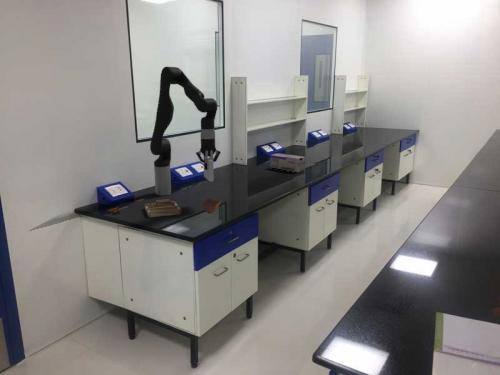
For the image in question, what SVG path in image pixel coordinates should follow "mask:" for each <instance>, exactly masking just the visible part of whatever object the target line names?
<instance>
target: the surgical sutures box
mask: <svg viewBox="0 0 500 375" xmlns="http://www.w3.org/2000/svg"><path fill="white" fill-rule="evenodd" d="M269 158H270V159H269V164H270V165H269V168H270V167H273V168H278V169H283V170H287V171H286V172H289V171H292V172H291V173H294V172H298V173H301V172H300V171H302V172H304V171H303V170H306V156H300V155H296V154H295V155H294V154H287V153H280V152H278V153H273V154H270V156H269ZM283 170H282V171H283Z"/></svg>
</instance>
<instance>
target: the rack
mask: <svg viewBox="0 0 500 375" xmlns="http://www.w3.org/2000/svg"><path fill="white" fill-rule="evenodd" d="M155 204H156V202H154V203H153V202H152V203H145V204H144V210H145V211H146V215H147V216H148V218H156V217H167V216H175V215H182V208H180V206H179V205H178V204H177V202H176V201H175V200H174V201H173V200H172V201H171V205H172V206H166V207H156V208H151V205H155Z"/></svg>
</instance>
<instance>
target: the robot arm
mask: <svg viewBox="0 0 500 375" xmlns="http://www.w3.org/2000/svg"><path fill="white" fill-rule="evenodd" d="M159 79H160V81H159V96H158V102H157V103H158V104H157V107H156V115H155V121H154V128H153V133H152V135H151V140H150V144H149V145H150V146H149V147H150V148H149V149H150V150H149V151H150V153H151V154H152V155H153V156H158V157H157V159H155V160H154V161H153V166H154V168H153V169H154V188H155V195H157V196H168V195H171V194H172V183H171V182H172V180H171V160H172V144H171V141H170V140H169V138H165V137H164V135H165V132H166V130H167V129H168V127H169V126H170V125H171V122H172V121H173V116H174V111H175V107H174V103H173V101H172V98H171V94H170V89H171V85H177V86H180V87H181V88H183V91H184V94H185V96H186V98H188V99H189V100H190V101H192V103H193V104H194V106H195V108H196V109H197V111H199V112H200V113H206V114H205V115H204V116H203V117H201V119H200V149H199V151H196V152H195V155H196V156H197V157H198V160H199V161H200V162H201V163H203V170H204V169H205V170H207V158H210V159H211V160H213V163H215V162H217V160H218V159H219V156H220V154H221V151H220V150H218V149H217V147H216V129H215V120H216V115H217V111H218V104H217V101H216V100H215V99H214V98H212V97H210V98H209V97H208V98H205V94H204V93H203V91H201V90H200V89H199V88H198V87H197V86H195V85H194V84H193V83H192V82H191V80H190V79H189V77H188V76H187V75H186V74H185V72H184V71H183V70H182V69H181V68H179V67H176V66H164V67H163V68H162V70H161V72H160V78H159ZM202 155H203V157H202Z"/></svg>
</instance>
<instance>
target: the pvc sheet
mask: <svg viewBox="0 0 500 375" xmlns="http://www.w3.org/2000/svg"><path fill="white" fill-rule="evenodd" d="M203 177H204V178H205V179H206V180H207V181H208V182H210V183H211V182H214V180H215V179H214V162H213V160H211V159H210V158H209V157H208V158H207V170H205V169H204V168H203Z"/></svg>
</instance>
